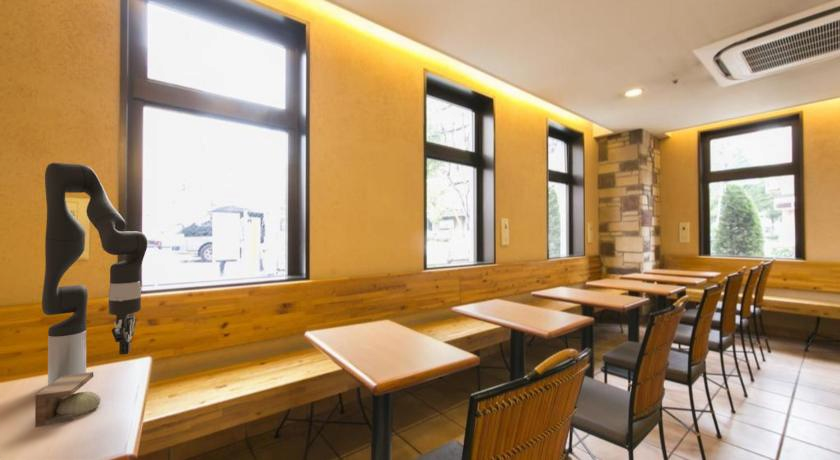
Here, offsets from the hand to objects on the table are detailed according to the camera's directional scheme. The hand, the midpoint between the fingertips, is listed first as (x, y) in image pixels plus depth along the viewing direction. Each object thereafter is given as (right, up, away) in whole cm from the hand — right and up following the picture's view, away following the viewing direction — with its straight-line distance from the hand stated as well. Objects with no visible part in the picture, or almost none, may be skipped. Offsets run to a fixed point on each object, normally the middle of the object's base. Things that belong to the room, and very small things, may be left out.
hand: (124, 353), depth 107 cm
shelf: (-11, -15, -5) cm, 20 cm away
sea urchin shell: (-9, -15, -5) cm, 19 cm away
